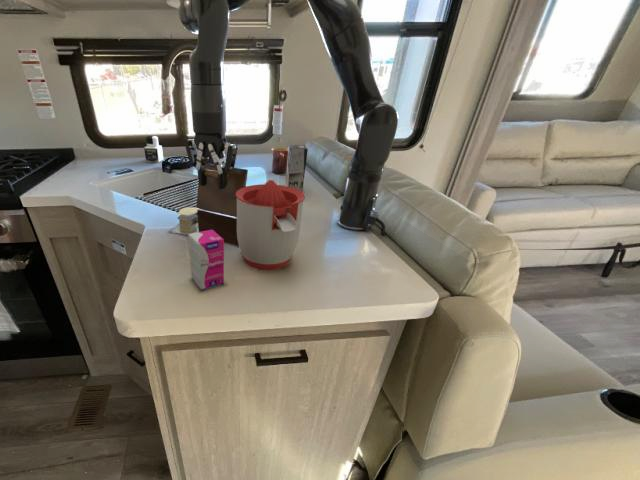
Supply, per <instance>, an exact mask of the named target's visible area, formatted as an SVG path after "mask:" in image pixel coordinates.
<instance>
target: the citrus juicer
mask: <svg viewBox="0 0 640 480" xmlns="http://www.w3.org/2000/svg"><path fill="white" fill-rule="evenodd" d="M236 197H237V239H238V244H239V246H238V248H239V252H240V255H241V258H242V260H243V262H244V264H246V265H247V266H249V267H250V268H252V269H256V270H258V271H277V270H280V269H283V268H285V267H286V266H287V265H288V264H289V263H290V261H291V260H292V258H293V256H294V253H295V251H296V248H297V245H298V241H299V237H300V232H301V231H300V230H301V223H302V215H303V209H304V208H303V207H304V201H305V199H306V196H305V193H304V192H303V191H302V192H301V191H300V190H298V189H295V188H292V187H288V186H285V185H281V184H277V183H276V181H274V180H273V179H269V180H267V181H266V182H265V183H264V184H253V185H246V187H244V188H241V189H239V190H238V191H237V192H236Z"/></svg>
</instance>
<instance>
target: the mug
mask: <svg viewBox="0 0 640 480" xmlns="http://www.w3.org/2000/svg"><path fill="white" fill-rule="evenodd" d="M288 149H289V147H283V146H278V147H277V146H276V147H275V146H274V147H272V148H271V154H272V158H271V171H272V172H273V173H274V174H285V173H287V160H288Z"/></svg>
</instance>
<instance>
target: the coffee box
mask: <svg viewBox="0 0 640 480" xmlns="http://www.w3.org/2000/svg"><path fill="white" fill-rule="evenodd" d="M288 148H289V149H288V160H287V171H286V172H285V173H286V174H285V184H284V186H288V187H292V188H295V189H298V190H300V191H301V192H303V191H304V183H305V176H306V175H305V174H306V168H307V158H308V150H309V148H308V147H307V146H306V145H305V144H288Z"/></svg>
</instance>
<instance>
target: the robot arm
mask: <svg viewBox="0 0 640 480" xmlns="http://www.w3.org/2000/svg"><path fill="white" fill-rule="evenodd" d="M250 1H251V0H179V1H178V6H177V9H178V11H177V12H178V17H179V20H180V23H181V25H182V26H183V27H184V28H185V29H186V30H187V31H188V32H190V33H192V34H196V35H197V41H196V47H195V48H194V49H193V50H191V52H190V54H189V57H188V64H189V65H188V67H189V78H190V105H191V106H190V107H191V119H192V120H191V121H192V131H193V133H194V138H189V139H186V140H185V141H184V146H185V151H186V154H187V158H188V163H189V165H190V167H192V168H195V169H196V171H197V181H198V182H199V183H200V185H201V186H204V185H206V184H207V176H205V175H204V171H205V170H206V169H205V167H206V163H208V162H207V161H208V160H209V159H211V160H212V161H213V164H214V165H216V166H217V169H218V172H219V174H218V187H219V189H224V188H225V187H226V186H227V172H229V171H231V170H233V169H234V168H235V167H236V159H237V153H238V150H239V149H238V148H239V145H238V144H237V143H233V144H232V143H230V142H228V140H227V137H226V132H227V113H226V111H227V107H226V92H225V85H224V84H225V77H224V76H225V74H224V56H225V53H226V52H225V51H226V47H227V41H228V34H229V28H230V12H232V11H235V10H238V9H240V8H242V7H244V6H245V5H246V4H247V3H249V2H250ZM306 1H307V3H308V6H309V8H310V10H311V13H312V15H313V17H314V20H315V22H316V24H317V27H318V29H319V33H320V35H321V38H322V41H323V44H324V47H325V49H326V52H327V54H328V57H329V60H330V61H331V64H332V66H333V69H334V71H335V73H336V75H337V77H338V79H339V82H340V83H341V86H342V87H343V89H344V91H345V94H346V96H347V100H348V103H349V106H350V110H351V113H352V117H353V121H354V125H355V129H356V132H357V134H358V137H357V142H356V147H355V151H354V153H353V155H352V156H351V157H350V162H349V167H348V172H347V178H346V183H345V187H344V194H343V198H342V204H341V205H340V208H339V209H340V210H339V211H340V214H339V216H338V217H339V218H338V225H339V226H340V227H342V228H343V229H347V230H350V231H365V232H366V231H367V230H368V229H369V228H370V226H374V225H375V224H376V222H377V223H378V224H379V225H380V227H381V229H380V234H381V235H382V236H386V234H387V232H386V231H385V230H386V225H385V222H383V220H381V219H380V218H379V212H377V211H375V208H376V204H377V200H378V196H379V195H378V192H379V187H380V184H381V181H382V176H383V172H384V168H385V164H386V162H387V161H388V159H389V157H390V154H391V151H392V148H393V144H394V141H395V137H396V134H397V129H398V124H399V115H398V111H397V109H396V108H395V107H394V106H393V105H391V104H389V103H386V102H385V100H384V99H383V96H382V94H381V92H380V89H379V86H378V84H377V81H376V79H375V75H374V67H373V59H372V58H373V56H372V55H373V54H372V47H371V42H370V37H369V33H368V30H367V27H366V24H365V21H364V17H363V15H362V12H361V9H360V7H359V6H358V4H357V3H356V2H355V0H306ZM225 153H226V155H225Z"/></svg>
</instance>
